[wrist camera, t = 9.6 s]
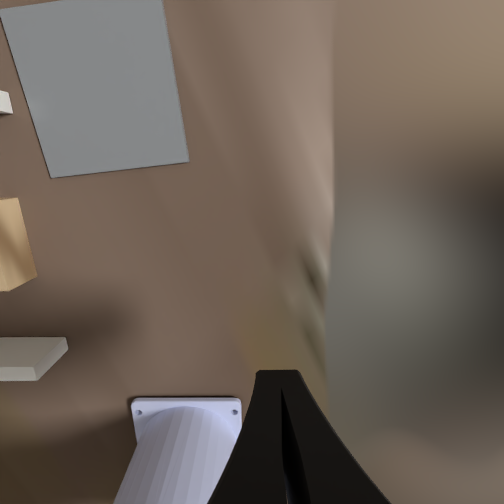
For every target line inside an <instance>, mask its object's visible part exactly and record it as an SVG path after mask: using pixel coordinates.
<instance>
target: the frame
mask: <svg viewBox="0 0 504 504" xmlns="http://www.w3.org/2000/svg"><path fill="white" fill-rule="evenodd" d="M12 113H13V111H12V107H11V102H10V98H9V94H8V93H7V92H4V91H0V114H12ZM67 350H68V345H67V341H66V337H0V381H38V380H39V379H40V378H41V377H42V376H43V375H44V374H45V373H46V372H47V371H48V370H49V369H50V368H51V367H52V366H53V365H54V364H55V363H56V362H57V361H58V360H59V359H60V358H61V357H62V356H63V355H64V353H65V352H66V351H67Z"/></svg>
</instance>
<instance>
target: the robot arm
mask: <svg viewBox="0 0 504 504" xmlns="http://www.w3.org/2000/svg"><path fill="white" fill-rule="evenodd" d="M131 410H132V416H133V421H134V427H135V433H136V439H137V447H136V449H135V452H134V454H133V456H132V459H131V461H130V464H129V466H128V469H127V471H126V473H125V476H124V478H123V481H122V483H121V486H120V488H119V490H118V493H117V495H116V498H115V500H114V503H113V504H287V500H288V504H391V503H390V502H389V501H388V499H387V498H386V497H385V496H384V495H383V493H382V492H381V491H380V490H379V489H378V487H377V486H376V485H375V484H374V483H373V481H372V480H371V479H370V478H369V477H368V475H367V474H366V473H365V472H364V470H363V469H362V468H361V466H360V465H359V464H358V462H357V461H356V460H355V459H354V457H353V456H352V454H351V453H350V452H349V450H348V449H347V448H346V446H345V445H344V444H343V442H342V441H341V439H340V438H339V437H338V435H337V434H336V432H335V431H334V429H333V428H332V426H331V425H330V423H329V422H328V420H327V419H326V417H325V416H324V414H323V413H322V411H321V409H320V408H319V406H318V405H317V403H316V401H315V399H314V398H313V396H312V394H311V393H310V391H309V389H308V387H307V385H306V384H305V382H304V380H303V378H302V376H301V373H300V372H299V371H298V370H259V371H258V372H257V373H256V379H255V385H254V390H253V394H252V397H251V401H250V405H249V408H248V411H247V414H246V416H245V419H244V422H243V425H242V418H241V401H240V400H239V399H238V398H136V399H134V400H133V402H132V404H131ZM139 410H140V411H139ZM233 410H236V411H233ZM285 488H286V489H285ZM286 494H287V497H286Z"/></svg>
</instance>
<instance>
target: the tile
mask: <svg viewBox="0 0 504 504" xmlns="http://www.w3.org/2000/svg"><path fill="white" fill-rule="evenodd" d="M35 277H37V273H36V269H35V265H34V261H33V257H32V253H31V249H30V245H29V241H28V237H27V233H26V229H25V225H24V221H23V217H22V213H21V209H20V205H19V201H18V198H0V291H10V290H12V289H14V288H16V287H18V286H20V285H22V284H24V283H25V282H27V281H29V280H31V279H33V278H35Z"/></svg>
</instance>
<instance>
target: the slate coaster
mask: <svg viewBox="0 0 504 504" xmlns="http://www.w3.org/2000/svg"><path fill="white" fill-rule="evenodd" d="M0 17H1V20H2V23H3V26H4V30H5V33H6V36H7V39H8V42H9V46H10V49H11V52H12V55H13V58H14V61H15V65H16V68H17V71H18V74H19V77H20V81H21V84H22V87H23V90H24V93H25V97H26V100H27V103H28V106H29V109H30V113H31V116H32V119H33V122H34V125H35V128H36V132H37V135H38V138H39V141H40V144H41V148H42V151H43V154H44V157H45V160H46V164H47V167H48V170H49V173H50V176H51V178H56V177H64V176H73V175H82V174H90V173H99V172H107V171H116V170H124V169H133V168H141V167H150V166H159V165H167V164H176V163H184V162H190V161H189V155H188V149H187V143H186V137H185V131H184V125H183V119H182V113H181V107H180V101H179V95H178V89H177V83H176V77H175V71H174V65H173V59H172V53H171V47H170V41H169V35H168V29H167V23H166V17H165V11H164V5H163V0H62V1H55V2H48V3H41V4H34V5H27V6H20V7H13V8H6V9H0Z"/></svg>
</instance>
